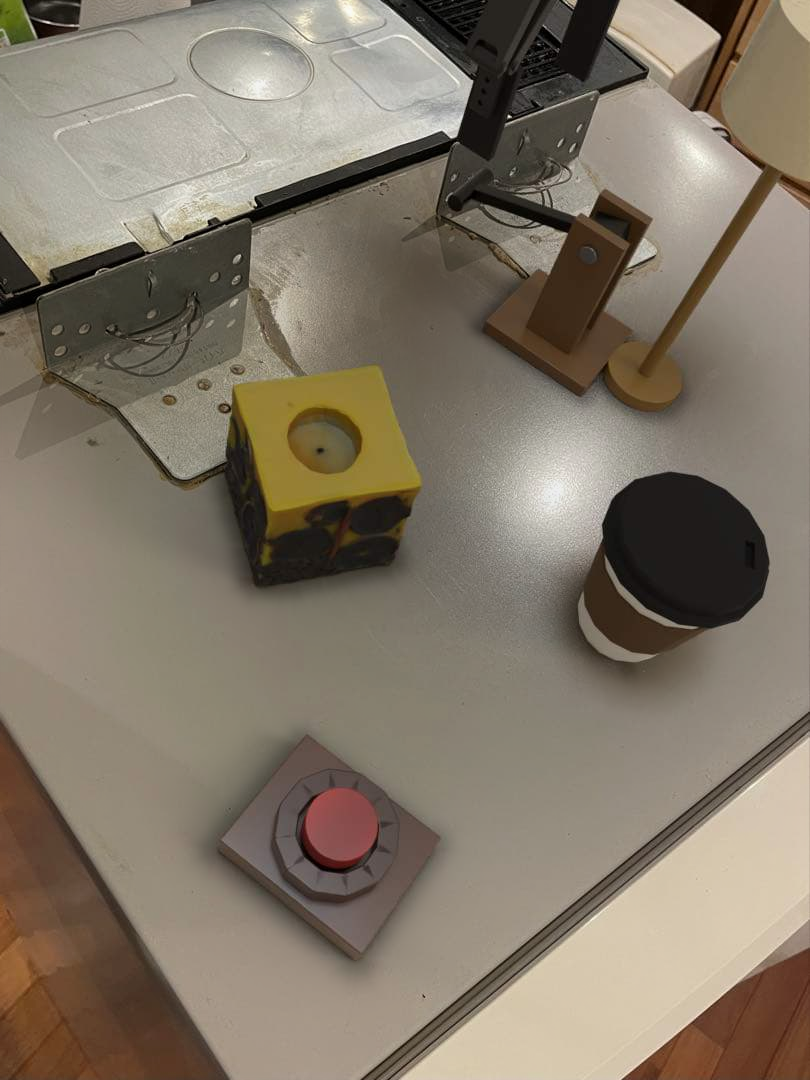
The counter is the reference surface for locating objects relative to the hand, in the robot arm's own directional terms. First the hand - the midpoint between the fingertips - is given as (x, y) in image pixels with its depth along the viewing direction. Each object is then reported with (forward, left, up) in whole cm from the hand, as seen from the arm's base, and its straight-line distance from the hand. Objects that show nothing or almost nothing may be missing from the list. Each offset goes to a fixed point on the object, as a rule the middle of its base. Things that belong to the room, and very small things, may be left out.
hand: (525, 108), depth 70 cm
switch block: (+19, -45, -18) cm, 52 cm away
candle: (+4, -27, -18) cm, 33 cm away
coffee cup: (+26, -19, -18) cm, 37 cm away
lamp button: (+19, -45, -14) cm, 51 cm away
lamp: (+17, +3, -18) cm, 25 cm away
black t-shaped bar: (+4, +2, -9) cm, 10 cm away
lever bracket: (+9, +2, -18) cm, 20 cm away
